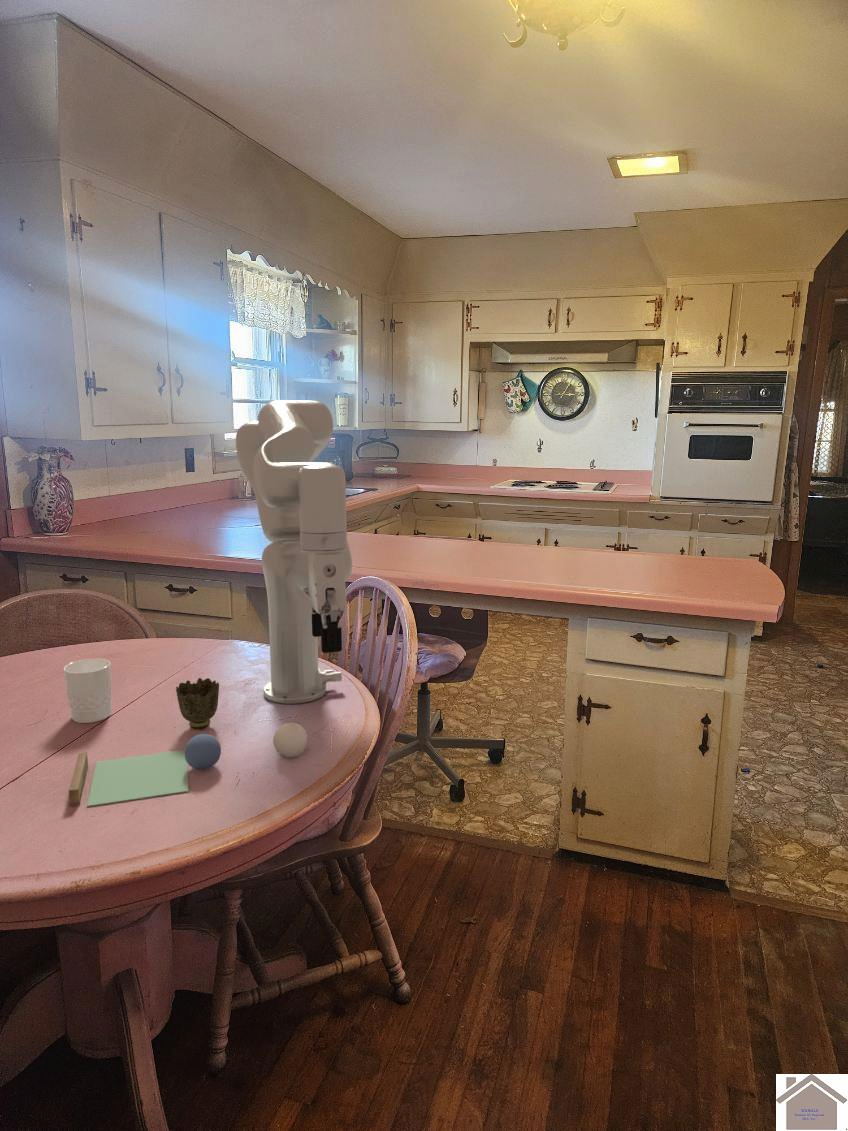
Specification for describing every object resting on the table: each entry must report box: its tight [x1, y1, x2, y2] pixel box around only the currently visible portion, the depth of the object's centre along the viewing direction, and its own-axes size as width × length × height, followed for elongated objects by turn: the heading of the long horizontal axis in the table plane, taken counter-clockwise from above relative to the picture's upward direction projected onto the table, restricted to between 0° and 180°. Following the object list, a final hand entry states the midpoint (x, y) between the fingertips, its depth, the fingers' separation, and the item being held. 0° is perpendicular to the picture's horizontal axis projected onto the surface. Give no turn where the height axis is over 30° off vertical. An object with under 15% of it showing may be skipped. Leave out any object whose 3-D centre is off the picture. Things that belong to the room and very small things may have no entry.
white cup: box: [62, 657, 112, 724], centre depth 134 cm, size 8×8×10 cm
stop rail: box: [68, 752, 89, 807], centre depth 110 cm, size 1×12×2 cm, turn 19°
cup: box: [175, 677, 220, 731], centre depth 130 cm, size 8×7×8 cm
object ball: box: [184, 733, 222, 771], centre depth 116 cm, size 6×6×6 cm
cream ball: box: [272, 722, 308, 758], centre depth 120 cm, size 6×6×6 cm
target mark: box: [86, 749, 189, 808], centre depth 113 cm, size 14×14×1 cm
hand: (326, 643), depth 120 cm, fingers open, 9 cm apart
